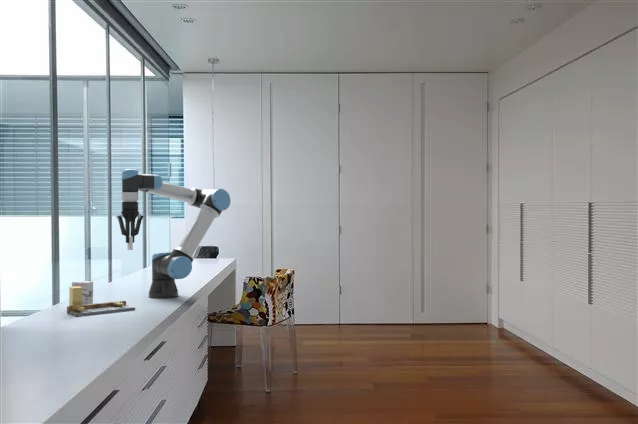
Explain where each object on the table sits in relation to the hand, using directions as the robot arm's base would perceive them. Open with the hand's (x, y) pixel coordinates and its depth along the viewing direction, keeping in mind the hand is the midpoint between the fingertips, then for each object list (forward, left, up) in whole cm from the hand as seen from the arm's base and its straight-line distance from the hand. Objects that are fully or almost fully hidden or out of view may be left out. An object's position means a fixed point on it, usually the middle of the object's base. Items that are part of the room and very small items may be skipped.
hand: (130, 249), depth 283 cm
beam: (+18, +10, -26) cm, 33 cm away
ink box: (+20, -8, -27) cm, 34 cm away
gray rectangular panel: (+18, +14, -26) cm, 35 cm away
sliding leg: (+28, +9, -26) cm, 39 cm away
